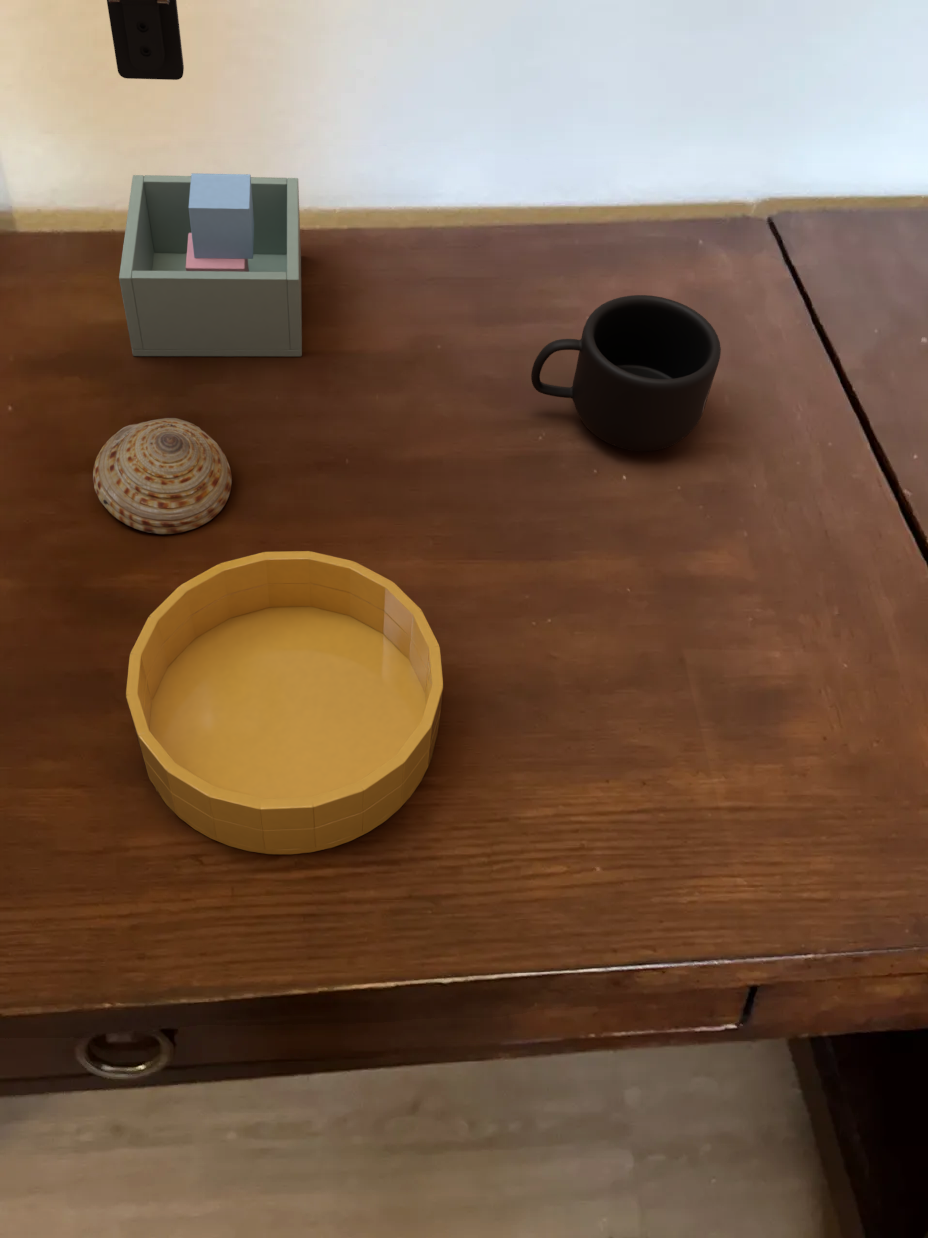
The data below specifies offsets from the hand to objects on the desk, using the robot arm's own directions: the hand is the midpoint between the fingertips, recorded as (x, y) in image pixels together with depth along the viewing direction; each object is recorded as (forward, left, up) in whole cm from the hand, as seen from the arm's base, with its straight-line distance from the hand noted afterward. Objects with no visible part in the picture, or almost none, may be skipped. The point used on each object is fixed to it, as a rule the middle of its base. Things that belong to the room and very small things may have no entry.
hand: (158, 26), depth 64 cm
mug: (+28, -4, -24) cm, 37 cm away
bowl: (+6, -28, -24) cm, 38 cm away
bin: (+1, +8, -24) cm, 26 cm away
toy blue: (+2, +9, -20) cm, 22 cm away
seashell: (-2, -10, -24) cm, 27 cm away
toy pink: (+1, +8, -24) cm, 25 cm away
